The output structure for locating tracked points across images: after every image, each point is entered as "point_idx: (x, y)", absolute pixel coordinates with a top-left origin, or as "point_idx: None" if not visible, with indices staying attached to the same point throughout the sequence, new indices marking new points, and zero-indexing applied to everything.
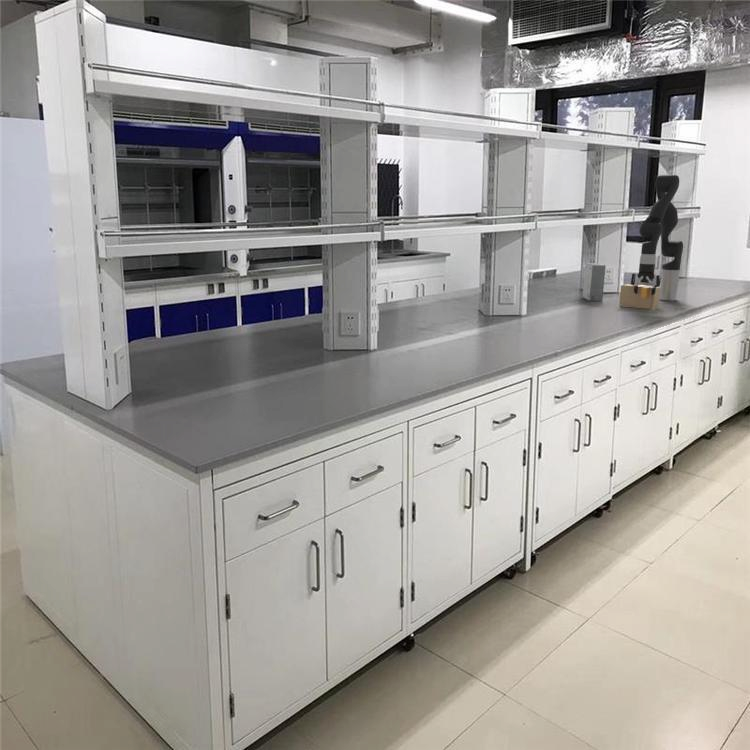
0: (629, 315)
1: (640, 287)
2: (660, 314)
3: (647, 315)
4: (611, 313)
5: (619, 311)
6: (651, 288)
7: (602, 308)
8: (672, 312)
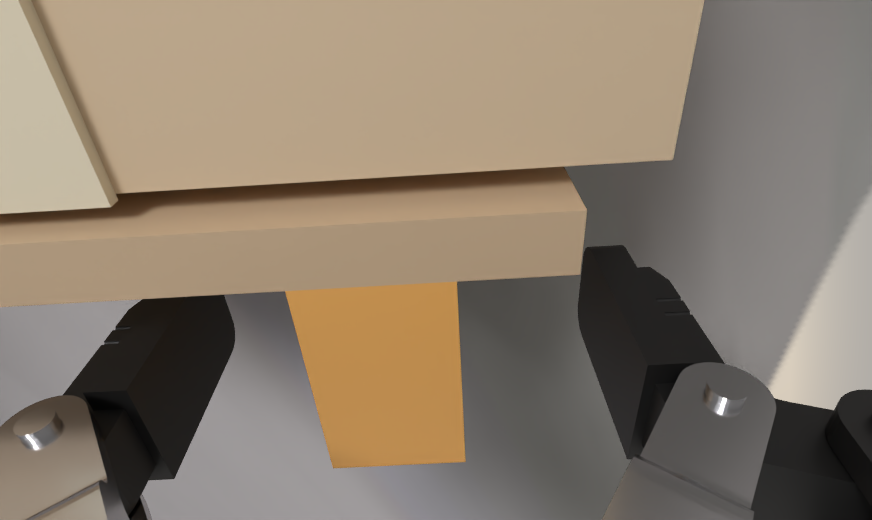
0: (456, 508)
1: (165, 284)
2: (698, 321)
3: (587, 435)
4: (299, 515)
5: (281, 413)
6: (551, 262)
7: (39, 371)
8: (852, 73)
